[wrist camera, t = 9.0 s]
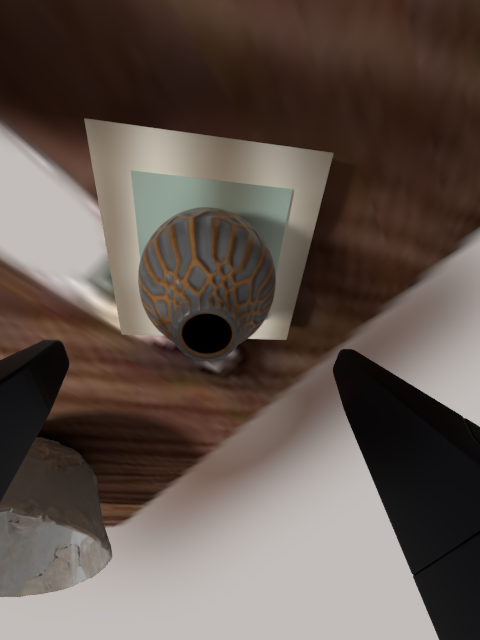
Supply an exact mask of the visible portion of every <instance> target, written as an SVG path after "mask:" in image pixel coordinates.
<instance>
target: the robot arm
mask: <svg viewBox="0 0 480 640" xmlns="http://www.w3.org/2000/svg"><path fill="white" fill-rule="evenodd" d="M68 368H69V359H68V356H67V353H66V350H65V347H64V344H63V342H62V341H60V340H43V341H41V342H39V343H37V344H35V345H32V346H30V347H28V348H26V349H24V350H22V351H19V352H17V353H15V354H13V355H11V356H9V357H6V358H4V359H2V360H0V502H1V500H2V499H3V497H4V495H5V493H6V491H7V489H8V488H9V486H10V484H11V482H12V480H13V479H14V477H15V475H16V473H17V471H18V470H19V468H20V466H21V464H22V462H23V461H24V459H25V457H26V455H27V453H28V452H29V450H30V448H31V446H32V444H33V442H34V441H35V439H36V437H37V435H38V433H39V432H40V430H41V428H42V426H43V424H44V423H45V421H46V419H47V417H48V415H49V413H50V411H51V409H52V406H53V404H54V402H55V399H56V397H57V394H58V392H59V390H60V387H61V385H62V382H63V380H64V378H65V375H66V373H67V370H68ZM333 374H334V377H335V380H336V384H337V387H338V390H339V394H340V397H341V401H342V404H343V407H344V410H345V413H346V416H347V418H348V421H349V423H350V425H351V428H352V430H353V433H354V435H355V438H356V440H357V443H358V445H359V447H360V450H361V452H362V454H363V457H364V459H365V462H366V464H367V466H368V469H369V471H370V474H371V476H372V478H373V481H374V483H375V486H376V488H377V490H378V493H379V495H380V498H381V500H382V503H383V505H384V507H385V510H386V512H387V515H388V517H389V519H390V522H391V524H392V527H393V529H394V532H395V534H396V536H397V539H398V541H399V543H400V546H401V548H402V551H403V553H404V556H405V558H406V560H407V563H408V565H409V567H410V570H411V572H412V574H413V578H414V580H415V583H416V585H417V587H418V590H419V592H420V594H421V597H422V599H423V602H424V604H425V606H426V609H427V611H428V614H429V616H430V618H431V621H432V623H433V626H434V628H435V631H436V633H437V635H438V638H439V640H480V427H479V426H477V425H476V424H474V423H473V422H471V421H469V420H468V419H465V418H463V417H462V416H461V415H459V414H458V413H456V412H455V411H453V410H451V409H449V408H448V407H446V406H445V405H443V404H441V403H440V402H438V401H436V400H435V399H433V398H431V397H430V396H428V395H427V394H425V393H423V392H422V391H420V390H419V389H417V388H415V387H414V386H412V385H410V384H409V383H407V382H406V381H404V380H402V379H401V378H399V377H397V376H396V375H394V374H392V373H391V372H389V371H388V370H386V369H384V368H383V367H381V366H379V365H378V364H376V363H375V362H373V361H371V360H369V359H368V358H366V357H365V356H363V355H361V354H360V353H358V352H357V351H355V350H352V349H342V350H341V351H340V352H339V354H338V356H337V360H336V361H335V364H334V367H333Z"/></svg>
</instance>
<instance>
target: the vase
mask: <svg viewBox="0 0 480 640" xmlns="http://www.w3.org/2000/svg"><path fill="white" fill-rule="evenodd" d="M138 285H139V293H140V297H141V301H142V304H143V307H144V309H145V312H146V314H147V316H148V317H149V319H150V321H151V322H152V323H153V325H154V326H155V327H156V328H157V329H158V330H159V331H160V332H161V333H162V334H163V335H164V336H165V337H167V338H168V339H169V340H171V341H172V342H174V343H175V344H176V345H177V347H178V348H179V349H180V350H181V351H182V352H183V353H184V354H185V355H187V356H189V357H191V358H193V359H197V360H202V361H212V360H217V359H220V358H223V357H225V356H227V355H228V354H230V353H231V352H232V351H233V350H234V349H235V348H236V346H237V345H238V344H240V343H242V342H243V341H245V340H246V339H248V338H249V337H250V336H251V335H253V334H254V333H255V332H256V331H257V330H258V329H259V327H260V326H261V325H262V324H263V322H264V320H265V319H266V317H267V315H268V313H269V311H270V308H271V306H272V302H273V299H274V293H275V285H276V275H275V267H274V262H273V259H272V256H271V253H270V251H269V249H268V247H267V245H266V243H265V241H264V240H263V238H262V237H261V235H260V234H259V233H258V232H257V231H256V229H255V228H254V227H253V226H252V225H250V224H249V223H248V222H247V221H245V220H244V219H243V218H241V217H240V216H238V215H236V214H234V213H232V212H229V211H226V210H223V209H219V208H213V207H200V208H193V209H189V210H186V211H183V212H180V213H178V214H176V215H174V216H173V217H171V218H170V219H168V220H167V221H165V222H164V223H163V224H162V225H161V226H160V227H159V228H158V229H157V230H156V231H155V232H154V233H153V235H152V236H151V238H150V239H149V241H148V242H147V244H146V246H145V248H144V250H143V253H142V256H141V260H140V264H139V271H138Z"/></svg>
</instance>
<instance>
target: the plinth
mask: <svg viewBox="0 0 480 640" xmlns="http://www.w3.org/2000/svg"><path fill="white" fill-rule="evenodd" d="M84 121H85V126H86V132H87V138H88V144H89V149H90V155H91V161H92V167H93V172H94V178H95V184H96V190H97V195H98V201H99V207H100V213H101V218H102V224H103V230H104V236H105V241H106V247H107V253H108V258H109V264H110V270H111V276H112V281H113V287H114V293H115V299H116V304H117V310H118V316H119V322H120V327H121V333H122V334H127V335H157V336H164V335H163V334H162V333H161V332H160V331H159V330H158V329H157V328H156V327H155V326H154V325H153V323H152V322H151V321H150V319H149V317H148V316H147V314H146V312H145V309H144V307H143V304H142V301H141V297H140V293H139V285H138V271H139V264H140V260H141V256H142V253H143V250H144V248H145V246H146V244H147V242H148V241H149V239H150V238H151V236H152V235H153V233H154V232H155V231H156V230H157V229H158V228H159V227H160V226H161V225H162V224H163V223H164V222H165V221H167V220H168V219H170V218H171V217H173V216H174V215H176V214H178V213H180V212H183V211H186V210H189V209H193V208H200V207H213V208H219V209H223V210H226V211H229V212H232V213H234V214H236V215H238V216H240V217H241V218H243V219H244V220H245V221H247V222H248V223H249V224H250V225H252V226H253V227H254V228H255V229H256V231H257V232H258V233H259V234H260V235H261V237H262V238H263V240H264V241H265V243H266V245H267V247H268V249H269V251H270V253H271V256H272V259H273V262H274V267H275V275H276V285H275V293H274V299H273V302H272V306H271V308H270V311H269V313H268V315H267V317H266V319H265V320H264V322H263V324H262V325H261V326H260V327H259V329H258V330H257V331H256V332H255V333H254V334H253V335H251V336H250V337H249V338H248V339H275V340H286V339H287V335H288V331H289V327H290V323H291V320H292V316H293V312H294V308H295V304H296V300H297V296H298V292H299V288H300V284H301V280H302V276H303V272H304V268H305V264H306V260H307V256H308V252H309V248H310V245H311V241H312V237H313V233H314V229H315V225H316V221H317V217H318V213H319V209H320V205H321V201H322V197H323V193H324V189H325V185H326V181H327V177H328V173H329V170H330V166H331V162H332V158H333V154H334V153H330V152H323V151H316V150H309V149H302V148H294V147H287V146H280V145H273V144H266V143H258V142H251V141H244V140H237V139H230V138H222V137H215V136H208V135H201V134H194V133H186V132H179V131H172V130H165V129H158V128H150V127H143V126H136V125H129V124H122V123H114V122H107V121H100V120H93V119H86V118H84Z"/></svg>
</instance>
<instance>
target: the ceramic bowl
mask: <svg viewBox="0 0 480 640" xmlns="http://www.w3.org/2000/svg"><path fill="white" fill-rule="evenodd" d="M97 485H98V480H97V477H96V475H95V473H94V472H93V470H92V469H91V467H90V466H89V465H88V463H87V462H86V461H85V460H84V459H83V457H82V456H81V455H80V454H79V453H78V452H77V451H76V450H74V449H73V448H70V447H66V446H63V445H61V444H59V442H56V441H53V440H48V439H45V438H42V437H36V439H35V441H34V442H33V444H32V446H31V448H30V450H29V452H28V453H27V455H26V457H25V459H24V461H23V462H22V464H21V466H20V468H19V470H18V471H17V473H16V475H15V477H14V479H13V480H12V482H11V484H10V486H9V488H8V489H7V491H6V493H5V495H4V497H3V499H2V500H1V502H0V597H21V596H26V595H36V594H43V593H48V592H54V591H58V590H62V589H66V588H68V587H71V586H74V585H76V584H77V583H79V582H82V581H85V580H87V579H88V578H92V577H93V576H95V575H96V574H97V573H99V572H100V571H101V570H102V569H103V568H104V567H105V566H106V565H107V564H108V562H109V561H110V560H111V558H112V551H111V545H110V542H109V539H108V536H107V533H106V530H105V527H104V524H103V521H102V514H101V508H100V502H99V496H98V487H97Z"/></svg>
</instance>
